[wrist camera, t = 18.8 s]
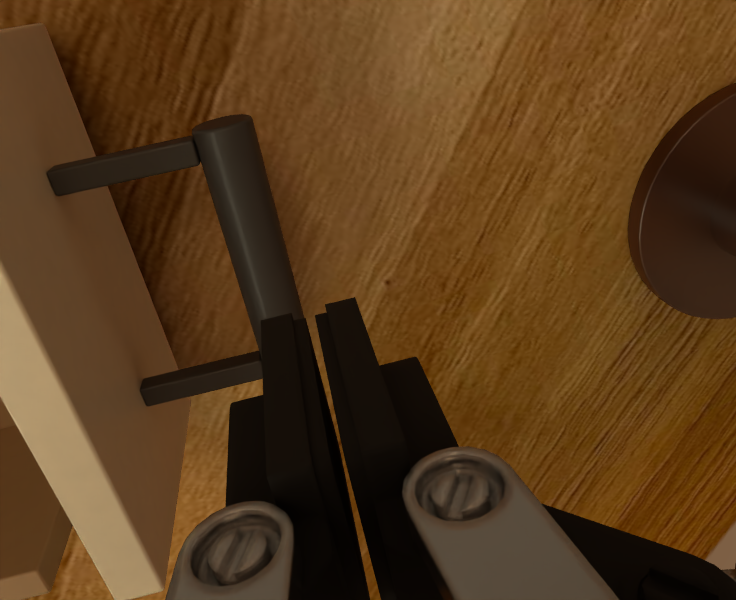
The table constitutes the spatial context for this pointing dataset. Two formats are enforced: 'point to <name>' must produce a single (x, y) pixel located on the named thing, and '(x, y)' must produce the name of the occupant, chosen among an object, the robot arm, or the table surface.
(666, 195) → the stand
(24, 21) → the table surface
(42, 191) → the drawer
